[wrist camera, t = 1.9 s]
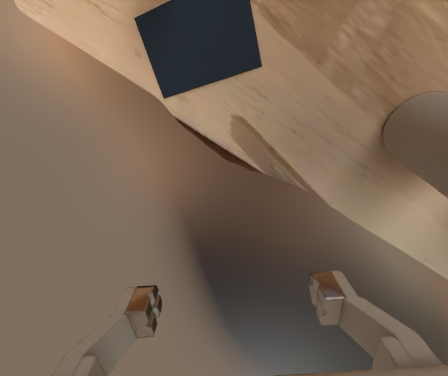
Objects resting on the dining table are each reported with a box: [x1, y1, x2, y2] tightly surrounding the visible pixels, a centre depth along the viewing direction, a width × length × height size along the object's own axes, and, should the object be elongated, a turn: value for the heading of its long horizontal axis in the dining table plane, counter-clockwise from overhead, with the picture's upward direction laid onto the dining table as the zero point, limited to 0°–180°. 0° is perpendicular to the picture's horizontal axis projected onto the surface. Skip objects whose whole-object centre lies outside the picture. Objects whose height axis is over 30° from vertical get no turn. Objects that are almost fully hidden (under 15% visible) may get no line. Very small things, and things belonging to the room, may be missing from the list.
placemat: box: [134, 0, 262, 98], centre depth 42 cm, size 15×22×1 cm
